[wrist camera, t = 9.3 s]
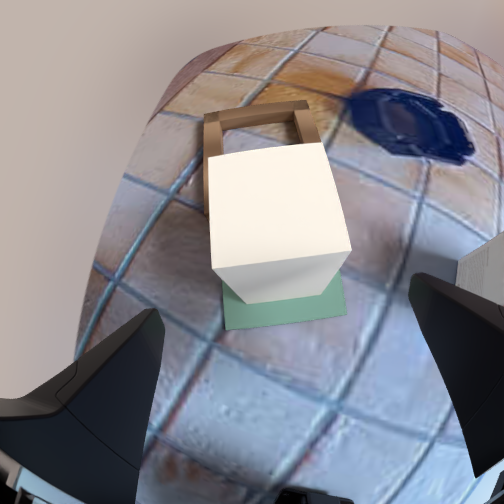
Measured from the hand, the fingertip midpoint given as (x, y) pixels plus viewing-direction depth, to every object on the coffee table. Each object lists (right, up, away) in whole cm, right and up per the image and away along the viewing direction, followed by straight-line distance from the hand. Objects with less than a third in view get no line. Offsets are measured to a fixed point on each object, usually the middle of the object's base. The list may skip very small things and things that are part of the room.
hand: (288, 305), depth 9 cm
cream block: (+1, +1, +12) cm, 12 cm away
